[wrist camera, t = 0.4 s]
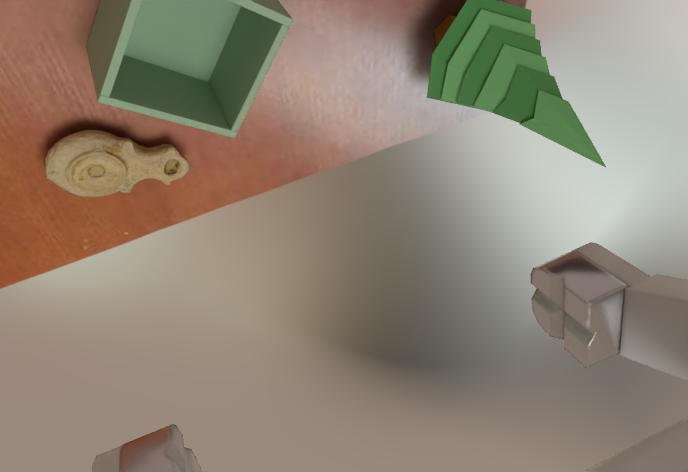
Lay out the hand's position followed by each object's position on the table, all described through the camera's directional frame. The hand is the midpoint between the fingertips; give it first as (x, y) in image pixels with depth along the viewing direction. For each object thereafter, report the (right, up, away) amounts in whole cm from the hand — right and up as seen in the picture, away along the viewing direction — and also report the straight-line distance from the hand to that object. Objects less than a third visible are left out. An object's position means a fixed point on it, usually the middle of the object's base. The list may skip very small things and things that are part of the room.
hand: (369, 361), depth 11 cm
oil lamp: (-28, +13, +52) cm, 60 cm away
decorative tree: (+14, +30, +60) cm, 68 cm away
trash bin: (-18, +26, +44) cm, 54 cm away
